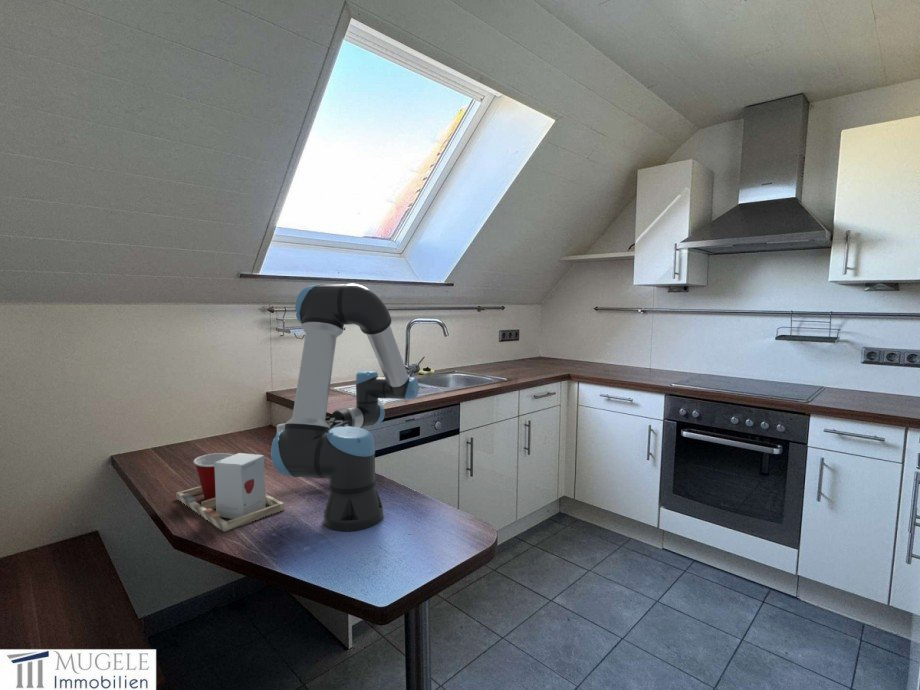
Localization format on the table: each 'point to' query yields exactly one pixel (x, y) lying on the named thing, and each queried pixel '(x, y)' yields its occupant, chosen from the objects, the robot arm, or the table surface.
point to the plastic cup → (208, 472)
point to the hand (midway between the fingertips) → (290, 432)
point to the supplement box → (239, 485)
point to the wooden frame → (213, 517)
